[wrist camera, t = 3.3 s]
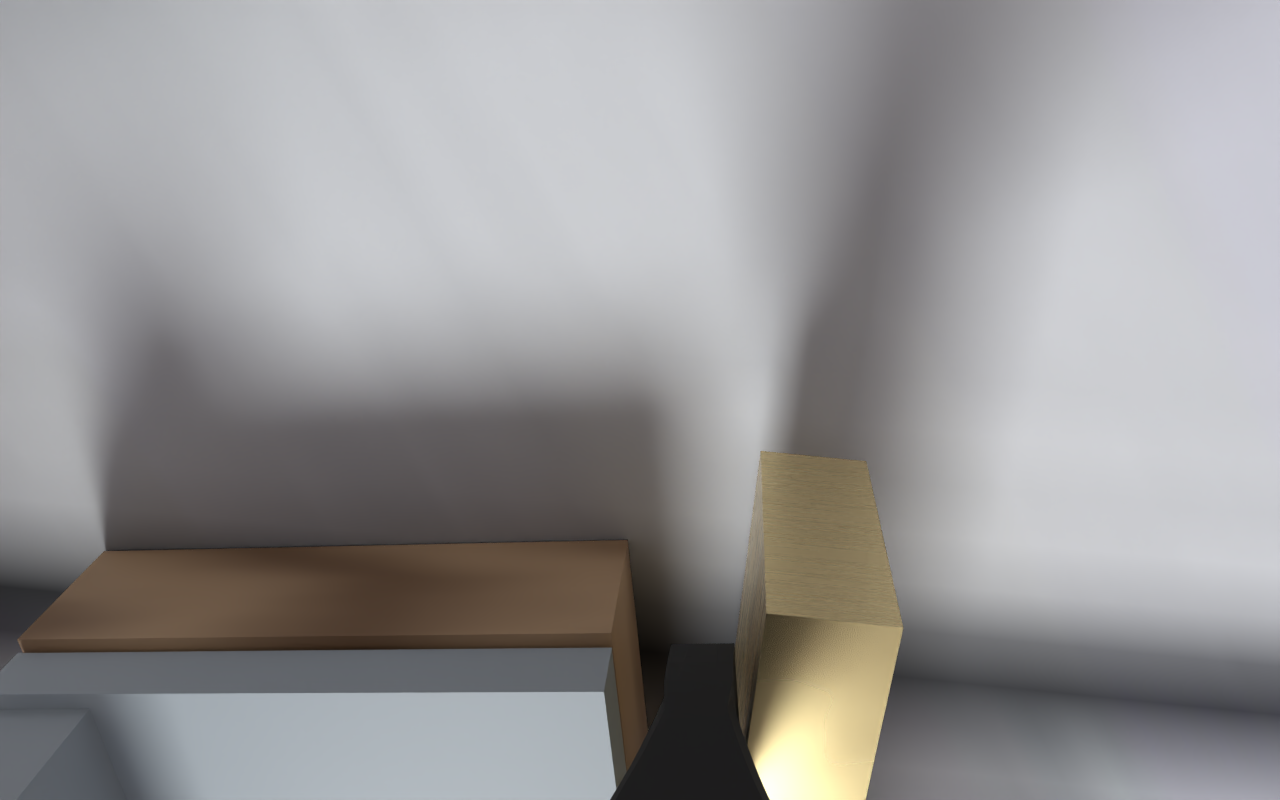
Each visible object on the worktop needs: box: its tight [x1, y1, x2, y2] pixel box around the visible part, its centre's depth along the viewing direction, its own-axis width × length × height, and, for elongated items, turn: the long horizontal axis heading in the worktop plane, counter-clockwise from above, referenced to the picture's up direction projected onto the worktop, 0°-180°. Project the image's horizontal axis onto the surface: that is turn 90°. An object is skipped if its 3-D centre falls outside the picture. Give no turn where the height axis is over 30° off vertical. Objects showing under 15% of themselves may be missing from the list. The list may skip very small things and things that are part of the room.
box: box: [17, 540, 648, 772], centre depth 19 cm, size 10×7×3 cm
